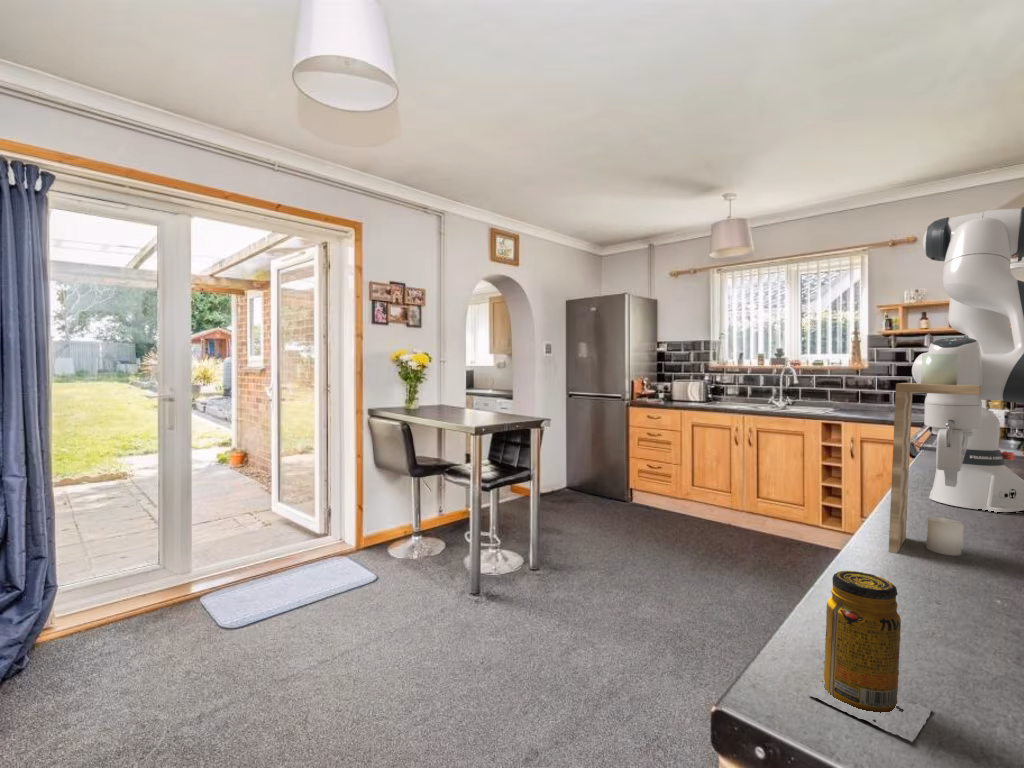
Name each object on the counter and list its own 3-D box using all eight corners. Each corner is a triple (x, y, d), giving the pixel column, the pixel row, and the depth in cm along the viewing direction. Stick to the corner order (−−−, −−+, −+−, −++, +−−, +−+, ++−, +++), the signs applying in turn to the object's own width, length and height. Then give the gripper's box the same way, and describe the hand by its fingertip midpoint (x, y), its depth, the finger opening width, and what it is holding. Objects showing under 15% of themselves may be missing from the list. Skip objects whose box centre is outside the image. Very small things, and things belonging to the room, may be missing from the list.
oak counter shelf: (898, 536, 102) (905, 382, 101) (972, 551, 94) (980, 385, 93) (888, 551, 93) (896, 383, 92) (969, 568, 85) (978, 386, 84)
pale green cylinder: (939, 384, 95) (940, 355, 95) (964, 385, 90) (966, 354, 90) (913, 383, 95) (915, 354, 95) (938, 384, 90) (939, 353, 90)
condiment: (834, 670, 55) (838, 561, 55) (933, 712, 49) (939, 588, 49) (806, 697, 51) (811, 577, 50) (912, 747, 44) (918, 610, 44)
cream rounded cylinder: (949, 546, 96) (951, 518, 96) (968, 556, 91) (970, 526, 91) (920, 544, 97) (921, 516, 97) (937, 554, 92) (939, 524, 92)
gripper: (971, 425, 94) (969, 499, 95) (974, 413, 109) (973, 478, 110) (927, 422, 99) (926, 493, 99) (936, 412, 114) (935, 473, 114)
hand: (950, 485), depth 105 cm, fingers closed
